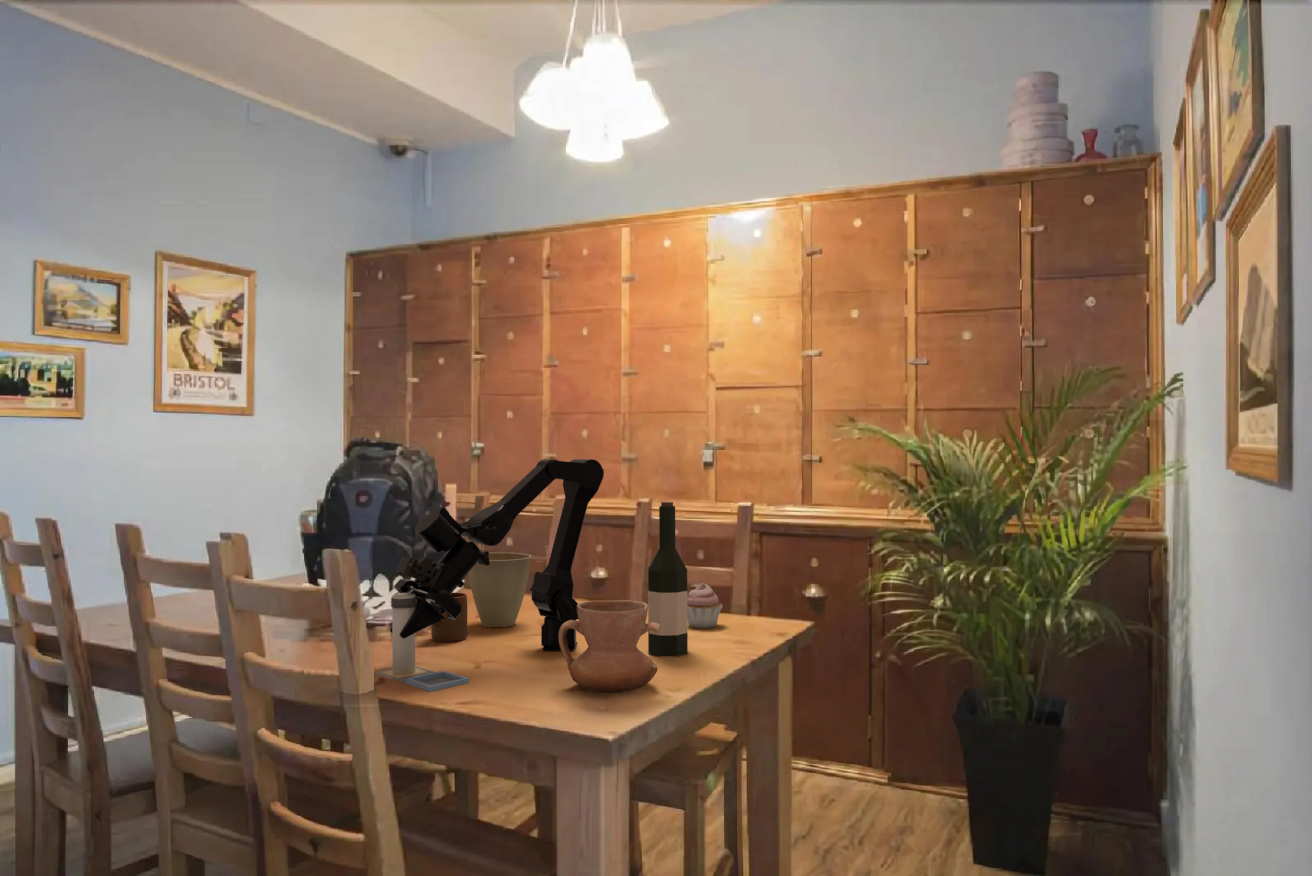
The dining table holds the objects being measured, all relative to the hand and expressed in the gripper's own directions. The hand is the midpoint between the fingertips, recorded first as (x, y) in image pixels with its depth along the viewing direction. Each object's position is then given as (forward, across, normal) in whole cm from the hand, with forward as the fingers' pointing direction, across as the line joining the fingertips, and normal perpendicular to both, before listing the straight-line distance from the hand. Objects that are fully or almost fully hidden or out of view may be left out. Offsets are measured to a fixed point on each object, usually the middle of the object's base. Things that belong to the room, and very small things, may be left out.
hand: (396, 634), depth 163 cm
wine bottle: (-30, +17, +40) cm, 53 cm away
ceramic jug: (-12, +31, +23) cm, 41 cm away
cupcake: (-46, +2, +56) cm, 72 cm away
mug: (-8, -22, +19) cm, 30 cm away
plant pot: (-21, -29, +31) cm, 48 cm away
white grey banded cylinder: (+4, 0, +6) cm, 7 cm away
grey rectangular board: (+4, +5, +7) cm, 9 cm away
